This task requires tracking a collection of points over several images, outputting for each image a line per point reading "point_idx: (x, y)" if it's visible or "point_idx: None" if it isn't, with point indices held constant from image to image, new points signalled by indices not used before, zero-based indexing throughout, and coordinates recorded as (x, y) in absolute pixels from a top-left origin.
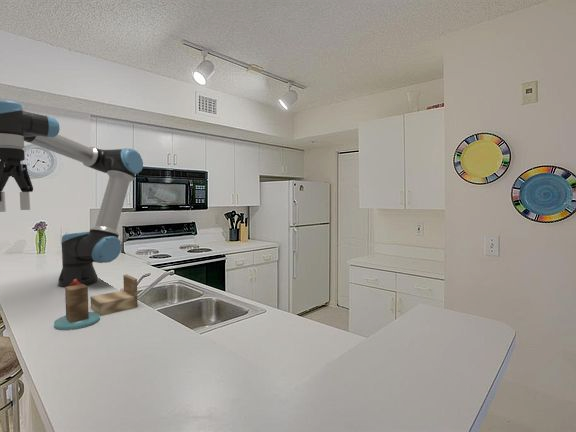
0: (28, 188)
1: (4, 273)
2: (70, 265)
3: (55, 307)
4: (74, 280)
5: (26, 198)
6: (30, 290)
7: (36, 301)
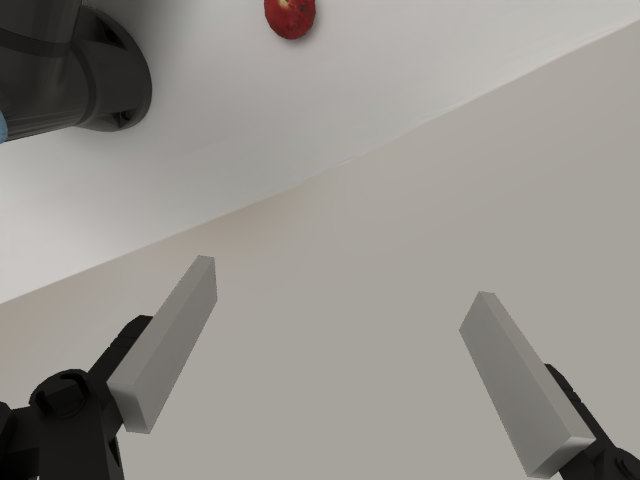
0: (76, 433)
1: (25, 293)
2: (92, 86)
3: (354, 52)
4: (287, 2)
5: (174, 335)
6: (178, 180)
7: (283, 126)
